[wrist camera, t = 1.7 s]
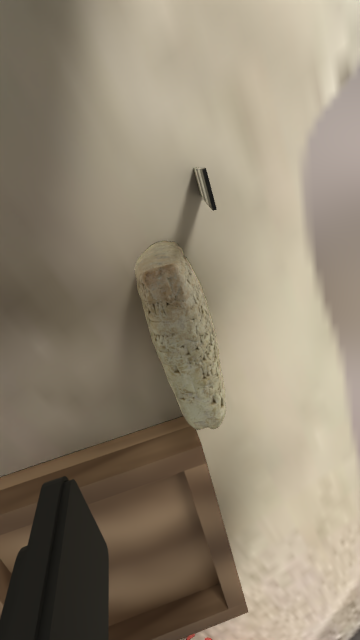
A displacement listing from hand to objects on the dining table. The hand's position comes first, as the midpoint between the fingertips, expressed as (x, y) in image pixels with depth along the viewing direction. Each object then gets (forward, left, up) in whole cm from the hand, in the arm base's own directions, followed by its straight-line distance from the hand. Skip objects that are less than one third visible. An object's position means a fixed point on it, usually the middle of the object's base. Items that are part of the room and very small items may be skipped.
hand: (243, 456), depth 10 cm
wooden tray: (+17, -9, -12) cm, 23 cm away
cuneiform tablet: (-1, +1, -12) cm, 13 cm away
